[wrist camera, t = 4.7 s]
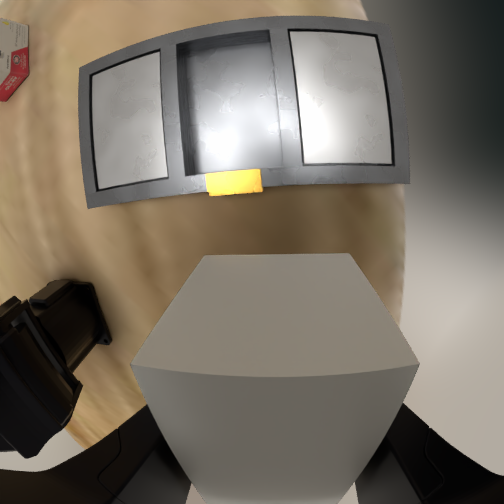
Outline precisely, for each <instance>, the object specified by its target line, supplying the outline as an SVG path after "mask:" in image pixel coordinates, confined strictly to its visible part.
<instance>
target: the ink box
mask: <svg viewBox="0 0 504 504" xmlns="http://www.w3.org/2000/svg"><path fill="white" fill-rule="evenodd" d="M28 74H29V65H28V25H24V24H21V23H17V22H14V21H10V20H7V19H3V18H0V101H4V102H6V101H7V99H8V98H9V97H10V96H11V94H12V93H13V92H14V91H15V90H16V88H17V87H18V86H19V85H20V84H21V83H22V82H23V80H24V79H25V78H26V77H27V76H28Z"/></svg>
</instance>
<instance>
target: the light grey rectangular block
mask: <svg viewBox="0 0 504 504" xmlns="http://www.w3.org/2000/svg"><path fill="white" fill-rule="evenodd" d="M419 364H420V363H419V362H418V360H417V358H416V356H415V354H414V353H413V351H412V349H411V347H410V346H409V344H408V342H407V341H406V339H405V337H404V336H403V334H402V332H401V331H400V329H399V327H398V326H397V324H396V322H395V321H394V319H393V318H392V316H391V314H390V313H389V311H388V310H387V308H386V307H385V305H384V303H383V302H382V300H381V299H380V297H379V296H378V294H377V293H376V291H375V290H374V288H373V287H372V285H371V284H370V282H369V281H368V279H367V278H366V276H365V275H364V274H363V272H362V271H361V269H360V268H359V266H358V265H357V264H356V262H355V261H354V259H353V258H352V256H351V255H350V254H349V253H332V254H263V255H204V256H203V258H202V259H201V261H200V262H199V263H198V265H197V266H196V268H195V269H194V270H193V272H192V273H191V275H190V276H189V277H188V279H187V280H186V282H185V283H184V285H183V286H182V287H181V289H180V290H179V292H178V293H177V295H176V296H175V298H174V299H173V300H172V302H171V303H170V305H169V306H168V308H167V309H166V311H165V312H164V314H163V315H162V316H161V318H160V319H159V321H158V322H157V324H156V325H155V327H154V328H153V330H152V331H151V333H150V334H149V336H148V337H147V339H146V340H145V342H144V343H143V345H142V346H141V348H140V349H139V351H138V353H137V354H136V356H135V357H134V359H133V360H132V362H131V363H130V365H131V368H132V370H133V373H134V375H135V377H136V380H137V382H138V385H139V387H140V389H141V391H142V394H143V396H144V398H145V400H146V402H147V404H148V407H149V409H150V411H151V413H152V415H153V417H154V419H155V421H156V423H157V425H158V427H159V428H160V430H161V432H162V434H163V436H164V438H165V440H166V441H167V443H168V445H169V447H170V448H171V450H172V452H173V454H174V455H175V457H176V459H177V460H178V462H179V464H180V465H181V467H182V468H183V470H184V472H185V473H186V475H187V476H188V478H189V479H190V481H191V482H192V484H193V485H194V487H195V488H196V490H197V491H198V492H199V494H200V495H201V497H202V498H203V499H204V501H205V502H206V503H207V504H337V503H338V502H339V501H340V500H341V499H342V497H343V496H344V495H345V493H346V492H347V491H348V490H349V488H350V487H351V486H352V485H353V483H354V482H355V481H356V479H357V478H358V476H359V475H360V474H361V472H362V471H363V469H364V468H365V466H366V465H367V463H368V462H369V460H370V459H371V457H372V456H373V454H374V453H375V451H376V450H377V448H378V446H379V445H380V443H381V441H382V440H383V438H384V436H385V435H386V433H387V431H388V429H389V428H390V426H391V424H392V422H393V420H394V418H395V417H396V415H397V413H398V411H399V409H400V407H401V405H402V403H403V401H404V399H405V397H406V394H407V392H408V390H409V388H410V386H411V384H412V381H413V379H414V377H415V374H416V372H417V370H418V367H419Z"/></svg>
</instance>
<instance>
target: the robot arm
mask: <svg viewBox="0 0 504 504" xmlns="http://www.w3.org/2000/svg"><path fill="white" fill-rule="evenodd" d="M29 303H30V304H29ZM111 342H112V339H111V337H110V334H109V331H108V329H107V326H106V324H105V321H104V318H103V315H102V313H101V310H100V307H99V304H98V301H97V298H96V295H95V292H94V288H93V286H92V285H91V284H90V283H88V282H73V281H71V280H54V281H53V282H49V283H48V284H47V286H46V287H44V288H43V289H41V290H40V291H39V292H37V293H36V294H34V295H33V296H32V297H30V299H29V302H28V300H27V299H26V300H24V301H22V302H21V300H19V299H18V298H17V297H16V296H13V297H11V298H10V299H9V300H7V301H6V302H4V303H3V304H2V305H0V452H8V451H18V453H20V454H21V455H22V456H23V457H24V458H31V457H34V456H36V455H38V453H39V452H40V450H41V449H42V448H43V446H44V445H45V444H46V443H47V441H48V440H49V439H50V438H52V437H53V436H54V435H55V434H56V433H58V432H59V431H61V430H62V429H63V428H64V427H65V426H66V425H67V424H68V422H69V421H70V419H71V417H72V414H73V411H74V408H75V406H76V403H77V400H78V398H79V395H80V392H81V390H82V387H83V385H82V384H81V382H80V381H78V380H77V379H76V377H75V376H74V375H73V372H74V371H75V369H76V368H77V367H78V366H79V364H80V363H81V362H82V361H83V360H84V358H85V357H86V356H87V355H88V353H89V352H90V351H91V350H92V349H93V347H94V346H95V345H96V344H103V345H110V343H111ZM191 483H192V482H191V481H190V479H189V478H188V476H187V475H186V473H185V472H184V470H183V468H182V467H181V465H180V464H179V462H178V460H177V459H176V457H175V455H174V454H173V452H172V450H171V448H170V447H169V445H168V443H167V441H166V440H165V438H164V436H163V434H162V432H161V430H160V428H159V427H158V425H157V423H156V421H155V419H154V417H153V415H152V413H151V411H150V409H149V407H148V404H147V405H146V406H144V407H143V408H142V409H141V410H139V411H138V412H137V413H136V414H134V415H133V416H132V417H131V418H129V419H128V420H127V421H126V422H124V423H123V424H122V425H120V426H119V427H118V429H115V430H114V431H113V432H111V433H110V434H109V435H107V436H106V437H105V438H103V439H102V440H100V441H99V442H97V443H96V444H94V445H93V446H91V447H90V448H88V449H86V450H85V451H83V452H81V453H79V454H78V455H76V456H74V457H72V458H70V459H68V460H67V461H65V462H63V463H61V464H59V465H57V466H55V467H53V468H51V469H48V470H44V471H38V472H26V471H13V470H4V469H0V504H185V503H186V500H187V496H188V493H189V490H190V486H191ZM355 485H356V491H357V497H358V502H359V504H504V476H502V475H498V474H495V473H492V472H490V471H489V470H487V469H486V468H484V467H483V466H481V465H480V464H478V463H476V462H475V461H473V460H472V459H470V458H469V457H467V456H466V455H464V454H463V453H461V452H460V451H459V450H457V449H456V448H454V447H453V446H452V445H450V444H449V443H448V442H447V441H445V440H444V439H443V438H442V437H441V436H439V435H438V434H437V433H436V432H435V431H434V430H433V429H432V428H429V426H428V425H427V424H426V423H425V422H424V421H423V420H421V419H420V418H419V417H418V416H417V415H416V414H415V413H414V412H413V411H411V410H410V409H409V408H408V407H407V406H406V405H405V404H404V403H402V405H401V407H400V409H399V411H398V413H397V415H396V417H395V418H394V420H393V422H392V424H391V426H390V428H389V429H388V431H387V433H386V435H385V436H384V438H383V440H382V441H381V443H380V445H379V446H378V448H377V450H376V451H375V453H374V454H373V456H372V457H371V459H370V460H369V462H368V463H367V465H366V466H365V468H364V469H363V471H362V472H361V474H360V475H359V476H358V478H357V479H356V481H355Z"/></svg>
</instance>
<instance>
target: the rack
mask: <svg viewBox="0 0 504 504" xmlns="http://www.w3.org/2000/svg"><path fill="white" fill-rule="evenodd" d="M78 116H79V139H80V153H81V163H82V173H83V181H84V188H85V195H86V201H87V207H88V209H90V208H95V207H101V206H106V205H112V204H118V203H124V202H131V201H137V200H144V199H151V198H158V197H165V196H173V195H181V194H190V193H199V192H209V195H210V196H217V195H228V194H240V193H253V192H263V190H264V187H267V186H284V185H305V184H339V183H392V184H410V162H409V141H408V129H407V118H406V109H405V101H404V95H403V87H402V82H401V76H400V70H399V66H398V60H397V56H396V51H395V47H394V43H393V39H392V35H391V31H390V27H389V25H388V24H383V23H377V22H372V21H365V20H357V19H349V18H338V17H324V16H273V17H258V18H248V19H239V20H231V21H225V22H218V23H213V24H207V25H202V26H197V27H193V28H188V29H184V30H180V31H176V32H172V33H168V34H165V35H161V36H158V37H155V38H152V39H148V40H145V41H142V42H139V43H137V44H134V45H131V46H128V47H126V48H123V49H120V50H118V51H115V52H113V53H111V54H108V55H106V56H104V57H101V58H99V59H97V60H95V61H92V62H90V63H88V64H86V65H84V66H82V67H80V68H79V90H78Z"/></svg>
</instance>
